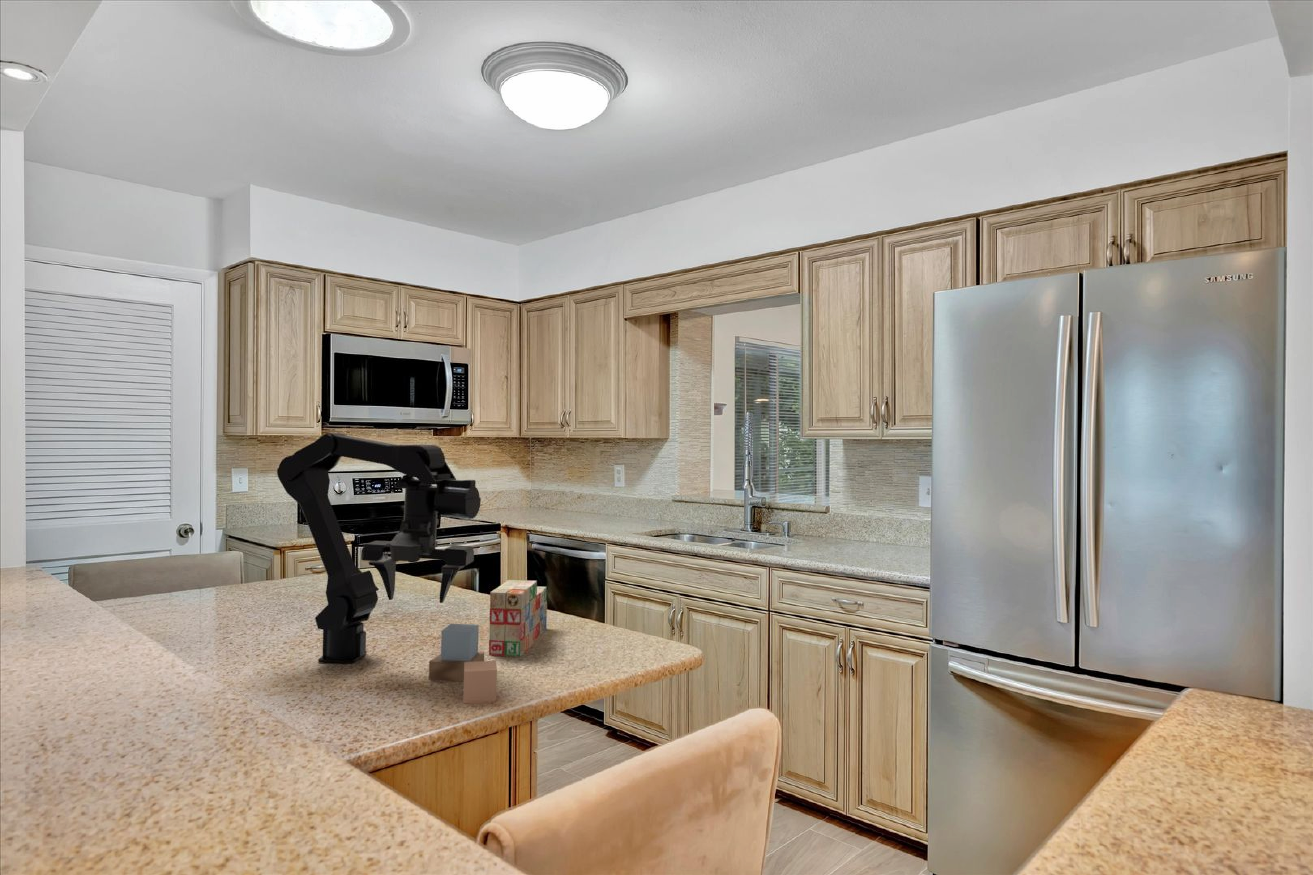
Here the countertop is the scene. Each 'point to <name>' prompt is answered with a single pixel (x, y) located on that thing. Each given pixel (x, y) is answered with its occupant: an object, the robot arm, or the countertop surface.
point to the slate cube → (459, 642)
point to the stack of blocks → (516, 617)
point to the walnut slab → (450, 668)
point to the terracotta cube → (480, 681)
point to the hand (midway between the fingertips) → (416, 601)
